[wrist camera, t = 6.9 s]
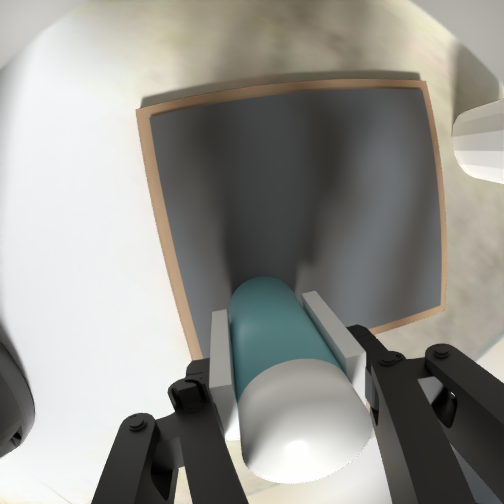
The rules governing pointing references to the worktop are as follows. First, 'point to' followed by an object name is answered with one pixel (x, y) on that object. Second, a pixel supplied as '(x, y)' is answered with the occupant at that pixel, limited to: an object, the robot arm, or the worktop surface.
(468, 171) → the white tapered cup
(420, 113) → the slate board
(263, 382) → the teal bottle
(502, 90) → the worktop surface
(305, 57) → the worktop surface
